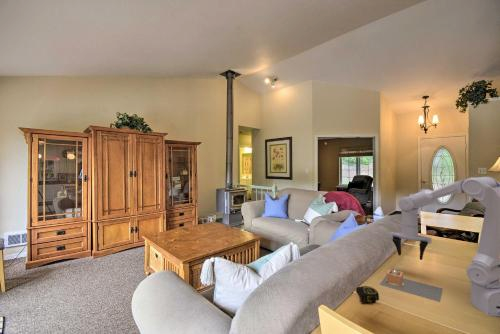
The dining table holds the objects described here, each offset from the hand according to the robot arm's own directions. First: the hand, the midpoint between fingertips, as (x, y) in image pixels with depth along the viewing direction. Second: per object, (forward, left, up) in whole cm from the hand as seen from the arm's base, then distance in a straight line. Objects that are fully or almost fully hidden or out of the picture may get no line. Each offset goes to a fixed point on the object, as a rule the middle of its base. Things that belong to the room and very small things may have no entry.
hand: (410, 256), depth 102 cm
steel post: (-7, +9, -9) cm, 14 cm away
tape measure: (-19, +23, -10) cm, 31 cm away
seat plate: (-9, +4, -9) cm, 14 cm away
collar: (-7, +9, -8) cm, 13 cm away
